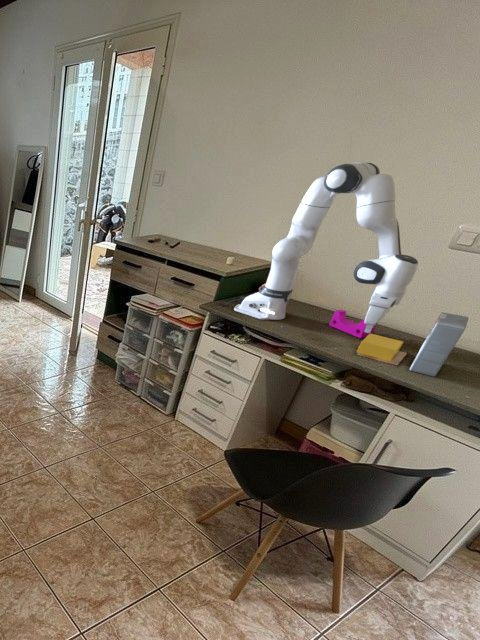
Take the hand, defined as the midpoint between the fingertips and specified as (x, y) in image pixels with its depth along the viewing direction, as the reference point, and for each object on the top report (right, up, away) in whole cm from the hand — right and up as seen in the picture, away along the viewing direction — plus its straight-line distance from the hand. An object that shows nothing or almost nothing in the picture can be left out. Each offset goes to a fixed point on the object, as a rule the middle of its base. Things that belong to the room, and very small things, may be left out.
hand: (370, 329), depth 175 cm
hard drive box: (+12, -17, -10) cm, 23 cm away
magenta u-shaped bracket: (+10, +2, +20) cm, 22 cm away
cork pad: (+5, -11, 0) cm, 11 cm away
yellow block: (0, -5, +3) cm, 6 cm away
